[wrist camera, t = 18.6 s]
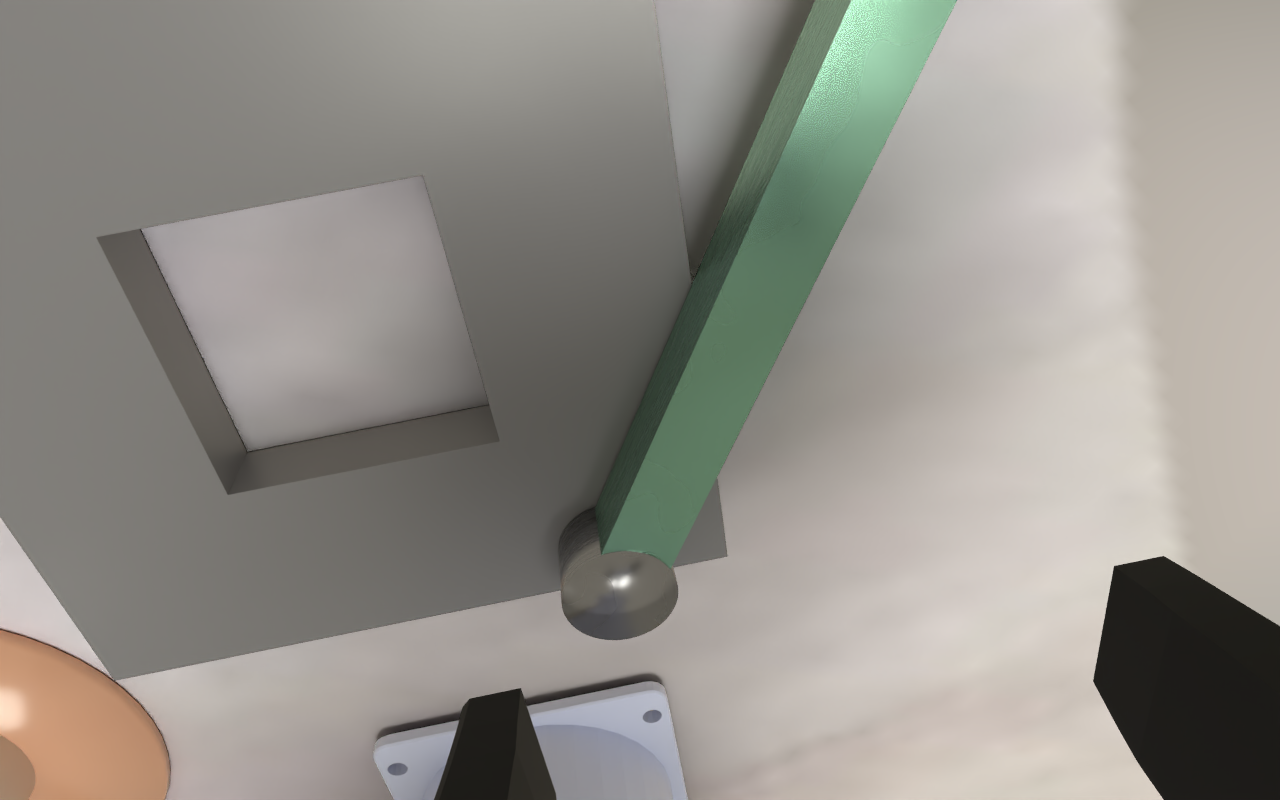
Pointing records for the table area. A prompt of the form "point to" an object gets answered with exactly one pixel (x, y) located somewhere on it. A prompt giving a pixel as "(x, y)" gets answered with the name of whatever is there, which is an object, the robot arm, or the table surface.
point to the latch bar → (744, 303)
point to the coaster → (77, 727)
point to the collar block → (293, 169)
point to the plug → (15, 772)
